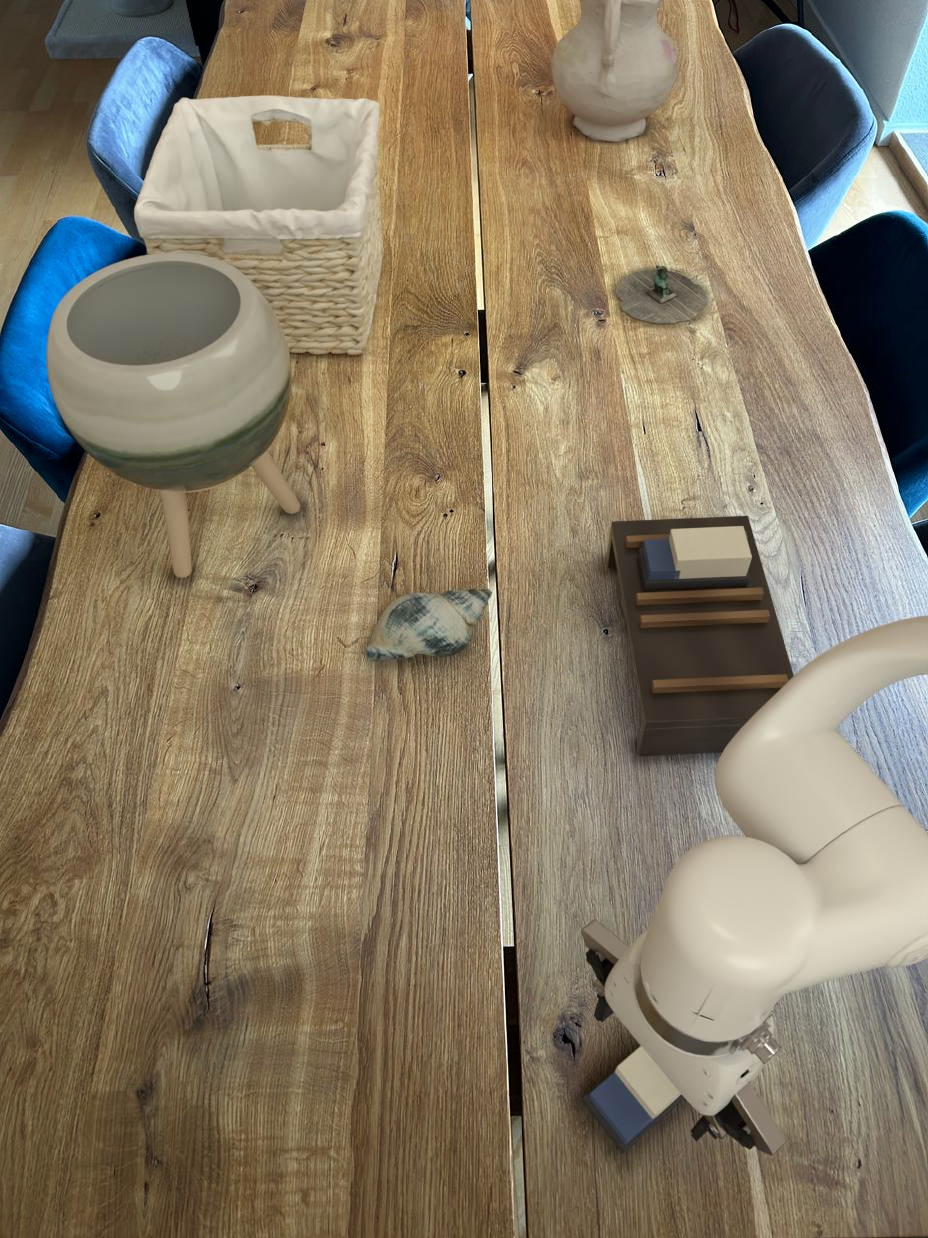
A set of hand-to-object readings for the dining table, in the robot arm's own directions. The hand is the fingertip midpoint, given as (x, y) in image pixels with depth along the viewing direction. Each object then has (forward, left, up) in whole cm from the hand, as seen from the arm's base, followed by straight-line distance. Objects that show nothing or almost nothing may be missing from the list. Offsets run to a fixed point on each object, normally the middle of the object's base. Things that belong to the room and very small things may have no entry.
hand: (659, 1063), depth 71 cm
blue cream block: (0, 0, -7) cm, 7 cm away
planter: (+39, -60, -7) cm, 72 cm away
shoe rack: (-10, -40, -7) cm, 42 cm away
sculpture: (-16, -98, -7) cm, 100 cm away
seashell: (+16, -42, -7) cm, 45 cm away
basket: (+34, -100, -7) cm, 106 cm away
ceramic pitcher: (-15, -144, -7) cm, 145 cm away
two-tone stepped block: (-10, -45, -1) cm, 46 cm away
